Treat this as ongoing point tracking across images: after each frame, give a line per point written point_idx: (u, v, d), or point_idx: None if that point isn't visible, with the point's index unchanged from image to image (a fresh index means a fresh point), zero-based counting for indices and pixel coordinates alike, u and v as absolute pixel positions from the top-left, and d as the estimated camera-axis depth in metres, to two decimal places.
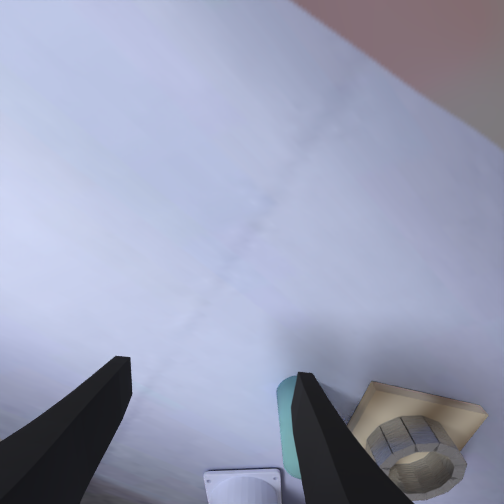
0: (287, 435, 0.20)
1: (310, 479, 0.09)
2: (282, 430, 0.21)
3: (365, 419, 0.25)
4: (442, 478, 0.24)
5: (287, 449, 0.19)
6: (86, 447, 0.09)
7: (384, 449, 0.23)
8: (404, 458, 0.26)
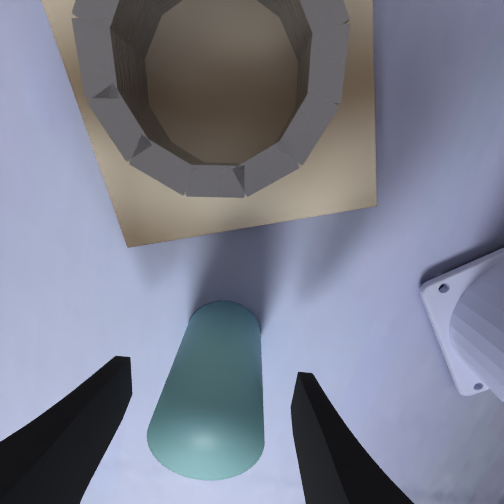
0: None
1: (311, 479, 0.09)
2: None
3: (200, 223, 0.12)
4: None
5: (204, 475, 0.10)
6: (87, 447, 0.09)
7: None
8: (267, 48, 0.10)
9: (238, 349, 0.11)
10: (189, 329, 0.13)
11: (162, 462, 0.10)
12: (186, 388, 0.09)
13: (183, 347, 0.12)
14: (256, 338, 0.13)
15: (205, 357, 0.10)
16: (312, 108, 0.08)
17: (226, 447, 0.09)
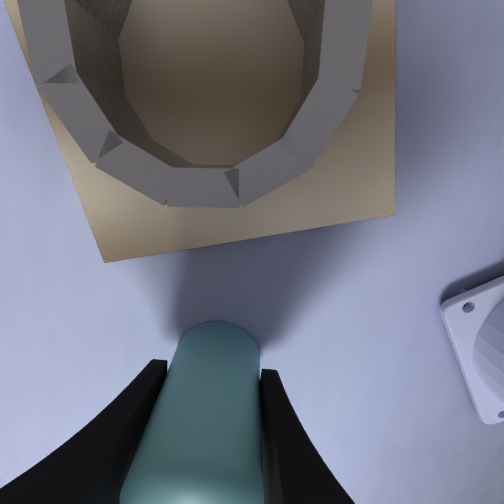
0: None
1: (265, 475, 0.09)
2: None
3: (189, 235, 0.10)
4: None
5: None
6: (134, 451, 0.09)
7: None
8: (266, 26, 0.08)
9: (233, 385, 0.09)
10: (177, 356, 0.11)
11: None
12: (167, 443, 0.07)
13: (168, 380, 0.10)
14: (254, 366, 0.11)
15: (193, 398, 0.09)
16: (324, 96, 0.06)
17: None
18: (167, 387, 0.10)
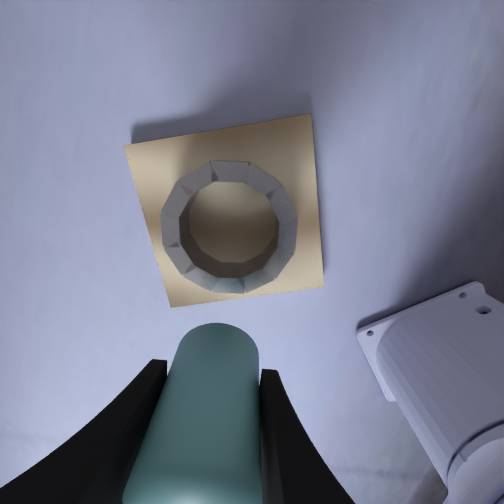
0: None
1: (265, 476, 0.09)
2: None
3: (217, 294, 0.19)
4: (231, 181, 0.14)
5: None
6: (134, 451, 0.09)
7: None
8: (258, 206, 0.17)
9: (232, 388, 0.10)
10: (177, 358, 0.11)
11: None
12: (168, 447, 0.08)
13: (169, 383, 0.10)
14: (253, 367, 0.11)
15: (193, 401, 0.09)
16: (280, 253, 0.15)
17: None
18: (167, 390, 0.10)
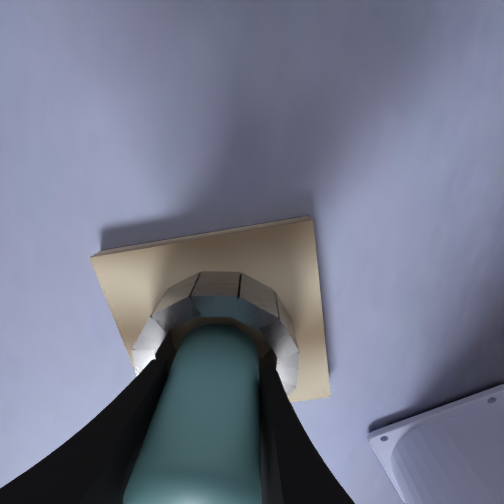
0: None
1: (265, 476, 0.09)
2: None
3: None
4: None
5: None
6: (134, 451, 0.09)
7: None
8: None
9: (231, 389, 0.10)
10: (177, 359, 0.11)
11: None
12: (168, 449, 0.08)
13: (169, 385, 0.10)
14: (253, 368, 0.11)
15: (193, 403, 0.09)
16: None
17: None
18: (167, 391, 0.10)
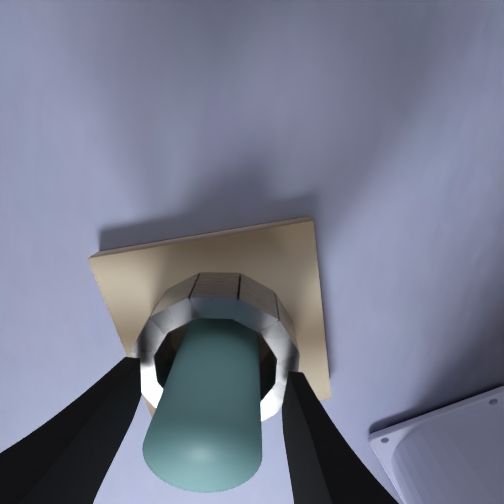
0: None
1: (298, 478, 0.09)
2: None
3: None
4: None
5: (201, 487, 0.10)
6: (99, 448, 0.09)
7: None
8: None
9: (235, 359, 0.11)
10: (186, 337, 0.13)
11: (159, 475, 0.10)
12: (182, 401, 0.09)
13: (179, 356, 0.11)
14: (254, 345, 0.13)
15: (202, 368, 0.10)
16: (279, 390, 0.13)
17: (223, 459, 0.09)
18: (179, 361, 0.11)
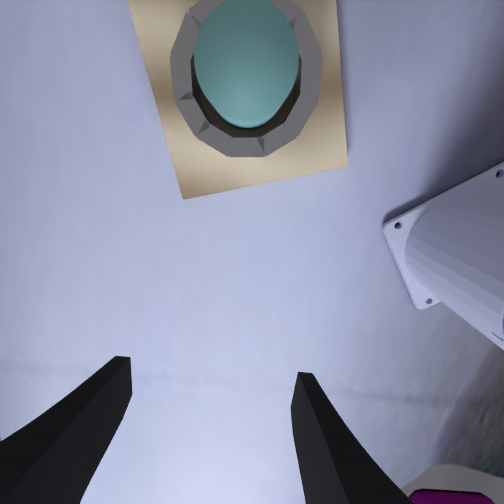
0: (240, 122, 0.12)
1: (310, 479, 0.09)
2: (254, 123, 0.13)
3: (232, 181, 0.18)
4: None
5: (244, 120, 0.11)
6: (86, 447, 0.09)
7: None
8: None
9: None
10: None
11: (207, 98, 0.11)
12: None
13: None
14: None
15: None
16: (303, 102, 0.14)
17: (264, 68, 0.10)
18: None
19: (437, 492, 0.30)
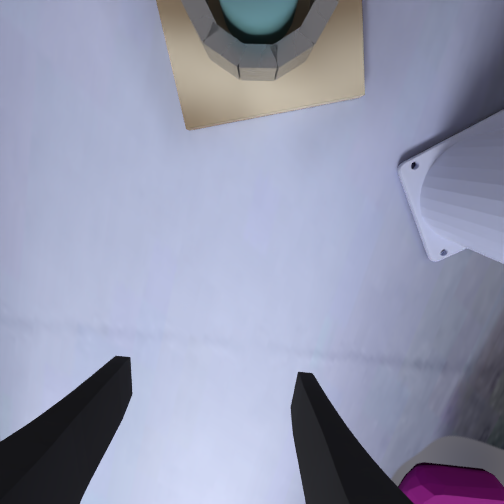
0: (251, 4, 0.11)
1: (310, 479, 0.09)
2: (267, 13, 0.12)
3: (239, 109, 0.16)
4: None
5: None
6: (86, 447, 0.09)
7: (250, 71, 0.14)
8: None
9: None
10: None
11: None
12: None
13: None
14: None
15: None
16: (321, 3, 0.13)
17: None
18: None
19: (439, 466, 0.29)
